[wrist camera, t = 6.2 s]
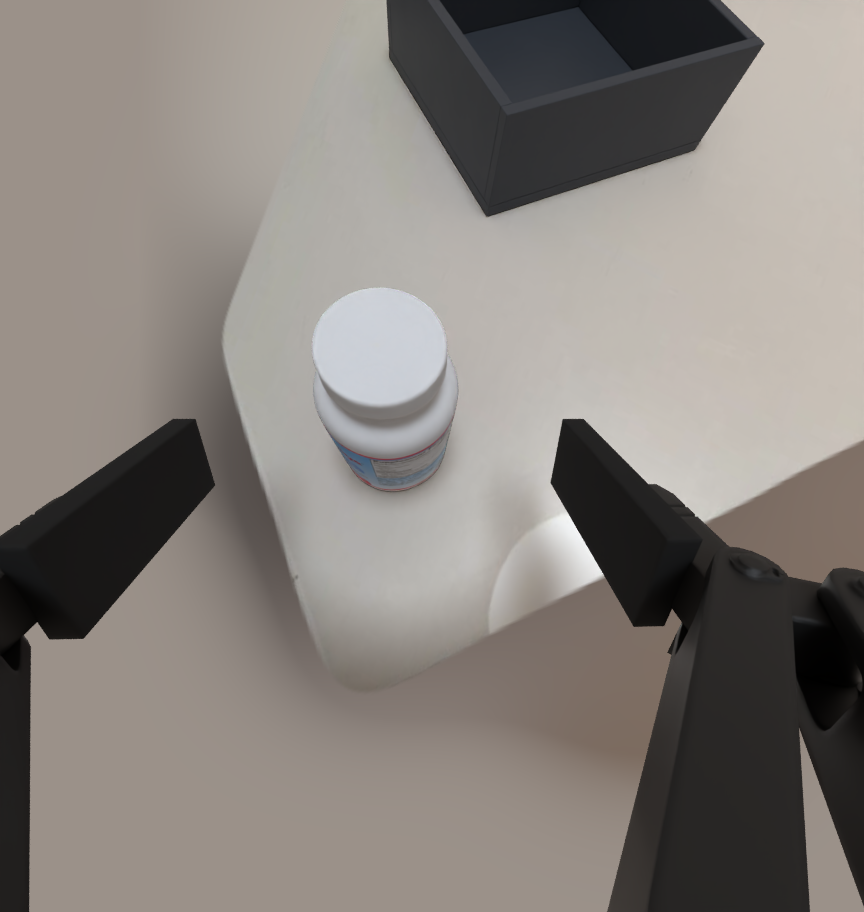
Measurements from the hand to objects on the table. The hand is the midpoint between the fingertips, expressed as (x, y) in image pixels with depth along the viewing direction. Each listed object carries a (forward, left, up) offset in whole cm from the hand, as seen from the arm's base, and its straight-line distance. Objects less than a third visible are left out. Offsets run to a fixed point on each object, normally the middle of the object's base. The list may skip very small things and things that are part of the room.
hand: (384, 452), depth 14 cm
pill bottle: (-3, +1, -9) cm, 10 cm away
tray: (-29, +22, -9) cm, 37 cm away
